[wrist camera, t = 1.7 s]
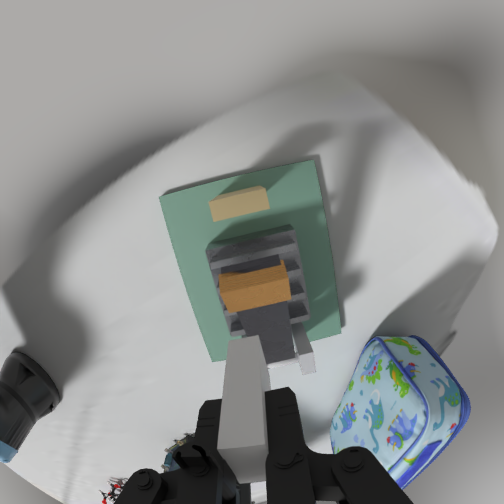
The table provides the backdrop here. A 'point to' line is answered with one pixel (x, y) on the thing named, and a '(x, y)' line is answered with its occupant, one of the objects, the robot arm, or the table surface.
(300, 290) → the heatsink
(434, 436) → the lunch box
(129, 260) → the table surface
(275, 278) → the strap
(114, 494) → the molecular model
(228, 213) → the board
